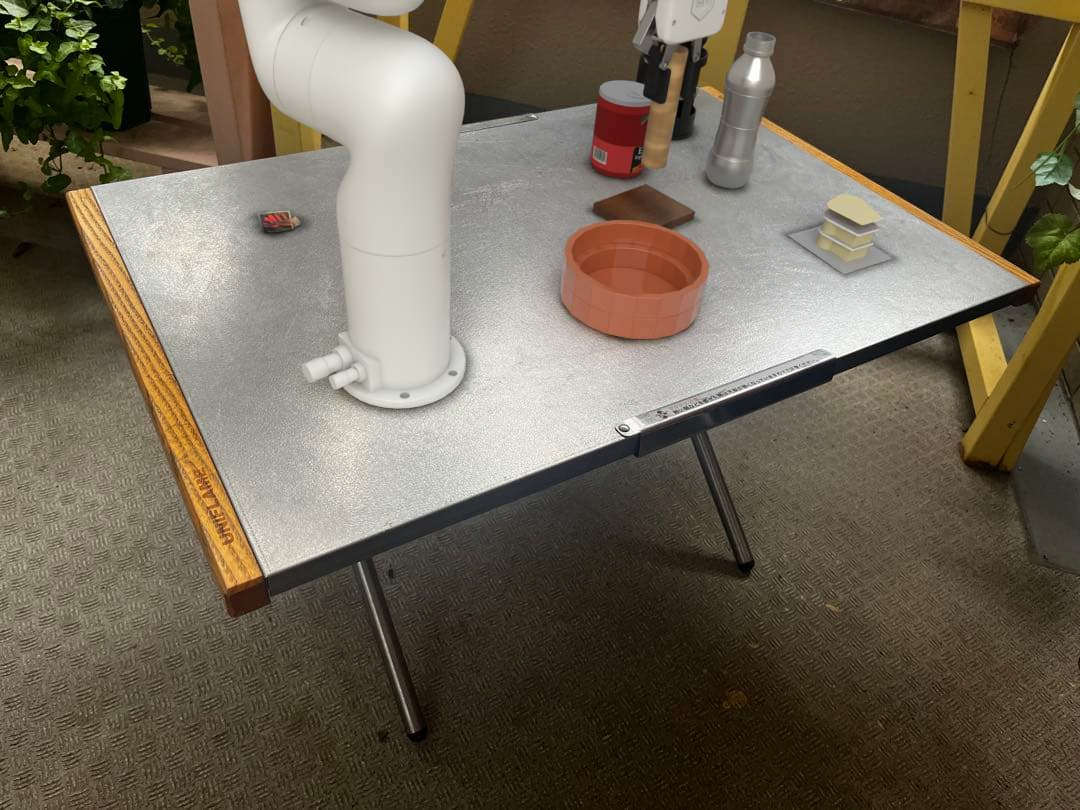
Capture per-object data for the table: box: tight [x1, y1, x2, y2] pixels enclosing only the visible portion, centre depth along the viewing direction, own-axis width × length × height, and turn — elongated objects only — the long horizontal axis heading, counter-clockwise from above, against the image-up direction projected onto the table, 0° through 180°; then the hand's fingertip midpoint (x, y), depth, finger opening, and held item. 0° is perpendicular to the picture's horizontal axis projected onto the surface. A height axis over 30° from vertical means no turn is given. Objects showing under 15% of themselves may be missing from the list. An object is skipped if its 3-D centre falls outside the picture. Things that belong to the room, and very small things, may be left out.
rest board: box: [592, 183, 696, 230], centre depth 105 cm, size 10×9×1 cm
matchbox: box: [256, 210, 302, 234], centre depth 97 cm, size 5×5×1 cm
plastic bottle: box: [705, 31, 777, 189], centre depth 108 cm, size 6×7×20 cm
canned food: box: [590, 79, 651, 179], centre depth 112 cm, size 8×8×11 cm
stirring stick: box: [641, 44, 688, 170], centre depth 96 cm, size 3×3×14 cm
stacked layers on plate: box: [787, 193, 893, 275], centre depth 102 cm, size 10×9×6 cm
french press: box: [635, 43, 709, 141], centre depth 120 cm, size 12×9×23 cm
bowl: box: [559, 220, 710, 340], centre depth 89 cm, size 16×16×6 cm
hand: (665, 95), depth 95 cm, fingers closed on stirring stick, 3 cm apart
